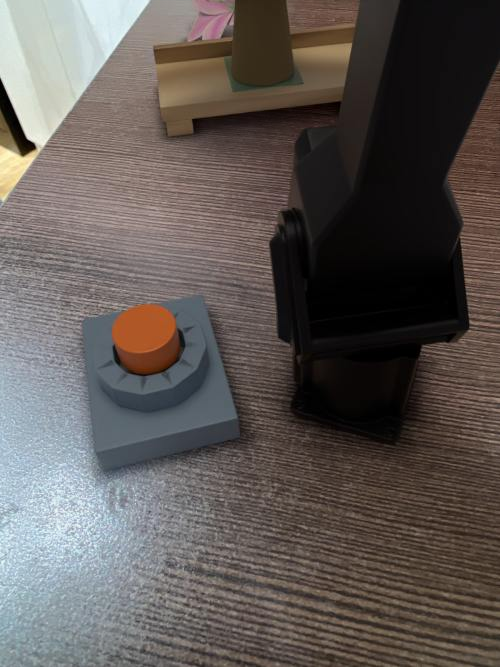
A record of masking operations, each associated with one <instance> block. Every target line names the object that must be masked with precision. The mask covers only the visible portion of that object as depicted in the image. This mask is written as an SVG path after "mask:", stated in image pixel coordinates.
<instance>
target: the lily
mask: <svg viewBox="0 0 500 667" xmlns="http://www.w3.org/2000/svg"><path fill="white" fill-rule="evenodd" d="M191 2H192V5H193V6H194V7H195V8H196V9H197V11H198V14H197V16H196V18H195V19H194V22H193V24H192V26H191V28H190V31H189V34H188V37H187V42H190V41H196V40H197V39H198V38H200V37H201V40H209V39H218V38H222V35H223V33H224V31H225V29H226V26H233V25H234V9H235V0H191Z"/></svg>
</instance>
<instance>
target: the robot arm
mask: <svg viewBox="0 0 500 667" xmlns="http://www.w3.org/2000/svg"><path fill="white" fill-rule="evenodd" d="M355 25H356V26H355V31H354V36H353V42H352V47H351V53H350V58H349V64H348V69H347V74H346V80H345V85H344V91H343V96H342V101H341V102H340V108H339V113H338V117H337V119H338V120H337V123H336V124H332V125H324V126H316V127H309V128H308V127H307V128H303V129H302V130H301V132H300V133H299V135H298V137H297V138H296V140H295V141H294V145H293V162H292V163H293V164H292V171H291V177H290V179H289V190H288V197H287V206H286V208H287V209H283V210H282V209H281V210H278V212H277V222H276V223H277V224H275V225H273V226H274V234H273V236H272V237H271V238H270V239H269V241H268V251H269V252H268V253H269V259H270V268H271V277H272V287H273V294H274V304H275V315H276V316H275V318H276V319H275V321H276V322H275V325H276V327H275V328H276V329H275V330H276V334H277V338H278V340H280V341H282V342H284V343H286V344H288V345H289V347H291V348H292V349H291V350H292V353H291V354H292V358H291V379H292V380H293V382H294V383H296V384H298V385H297V387H296V390H295V392H294V394H293V397H292V398H291V401H290V409H289V410H290V412H291V413H292V415H294V416H297V417H300V418H303V419H306V420H309V421H313V422H316V423H320V424H322V425H325V426H329V427H333V428H336V429H339V430H342V431H345V432H348V433H352V434H355V435H358V436H361V437H365V438H367V439H372V440H375V441H378V442H381V443H385V444H388V445H393V444H397V442H398V441H399V439H400V436H401V432H402V428H403V425H404V421H405V417H406V413H407V409H408V405H409V402H410V398H411V395H412V391H413V387H414V383H415V379H416V376H417V372H418V368H419V365H420V356H421V351H422V349H423V346H427V345H433V344H441V343H446V344H452V343H457V342H459V341H460V340H461V339H462V338H463V337H464V336H465V335H466V334H467V333H468V332H469V330H470V325H471V323H470V315H469V306H468V297H467V287H466V279H465V278H466V277H465V269H464V260H463V250H462V249H463V248H462V241H461V234H462V231H463V228H464V220H463V217H462V214H461V212H460V209H459V206H458V203H457V200H456V197H455V195H454V194H455V193H454V191H453V189H452V186H451V183H450V181H449V178H448V177H449V175H450V171H451V169H452V167H453V166H454V163H455V161H456V159H457V157H458V154H459V152H460V150H461V148H462V145H463V144H464V141H465V139H466V137H467V135H468V133H469V131H470V129H471V127H472V124H473V123H474V121H475V118H476V116H477V114H478V112H479V109H480V107H481V105H482V104H483V101H484V98H485V96H486V94H487V92H488V91H489V88H490V86H491V84H492V81H493V79H494V77H495V74H496V73H497V71H498V68H499V67H500V0H359V5H358V10H357V15H356V20H355ZM297 406H300V407H301V408H297ZM388 433H390V434H393V436H389V435H388Z"/></svg>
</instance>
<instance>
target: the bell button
mask: <svg viewBox="0 0 500 667" xmlns="http://www.w3.org/2000/svg"><path fill="white" fill-rule="evenodd" d="M153 304H154V303H146V304H139V305H135V306H133V307H130V308H128V309H126V311H125V310H124V311H125V312H123V313H122V314H121V315H120V316H119V317H118V318H117V319H116V321H115V322H114V325H113V328H112V338H113V341H114V344H115V347H116V350H117V353H118V356H119V359H120V361H121V363H122V365H123V366H124V367H125V368H126V369H128V370H129V371H131V372H133V373H136V374H141V375H151V374H156V373H159V372H162V371H164V370H166V369H167V368H169V367H170V366H171V365H172V364H173V363H174V362H175V361H176V360H177V358H178V356H179V354H180V350H181V344H180V339H179V334H178V329H177V324H176V320H175V318H174V316H173V315H172V313H171V312H170V311H169V310H167V309H166V308H164V307H161V306H158V305H153Z"/></svg>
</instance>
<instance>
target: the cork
mask: <svg viewBox="0 0 500 667" xmlns="http://www.w3.org/2000/svg"><path fill="white" fill-rule="evenodd" d="M288 10H289V9H288V3H287V0H235V9H234V25H232V30H233V31H232V37H233V41H232V58H231V75H232V77H233V78H234V79H235V80H236V81H239V82H241V83H243V84H247V85H252V86H267V85H274V84H277V83H281V82H283V81H285V80H287V79H289V78H290V77H291V76H292V75H293V73H294V60H293V52H292V44H291V35H290V30H291V29H290V28H291V27H290V20H289V12H288Z"/></svg>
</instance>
